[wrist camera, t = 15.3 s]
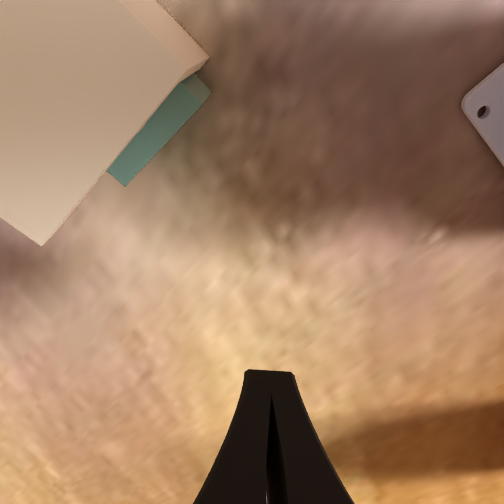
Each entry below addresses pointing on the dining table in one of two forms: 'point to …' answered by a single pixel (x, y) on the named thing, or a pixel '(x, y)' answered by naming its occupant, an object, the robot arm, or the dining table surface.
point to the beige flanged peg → (78, 97)
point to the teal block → (160, 128)
